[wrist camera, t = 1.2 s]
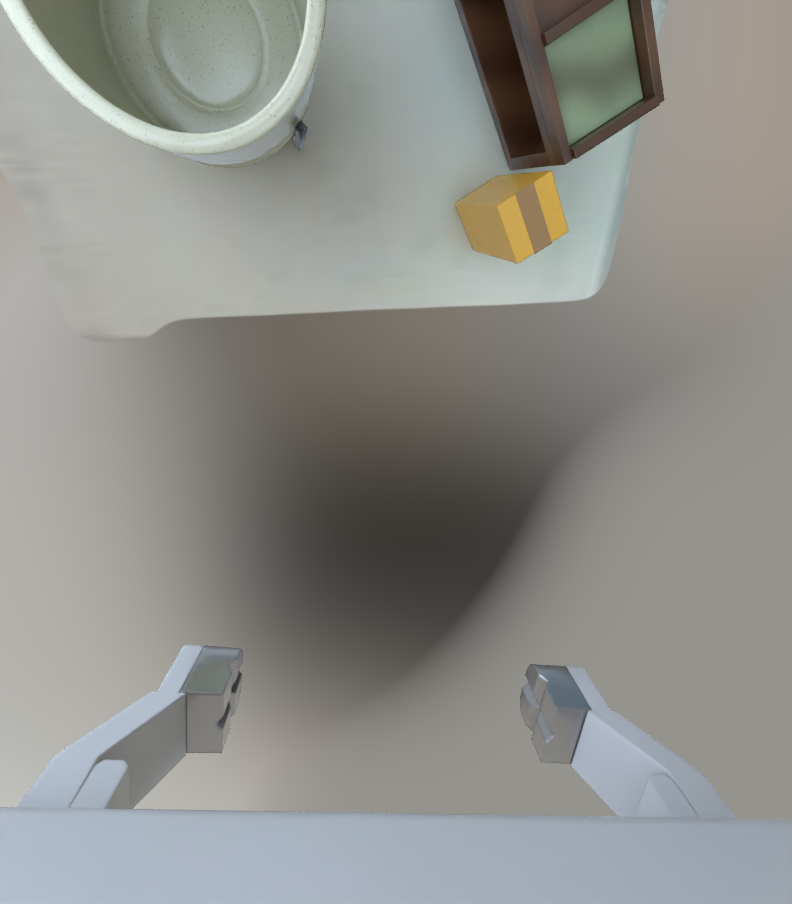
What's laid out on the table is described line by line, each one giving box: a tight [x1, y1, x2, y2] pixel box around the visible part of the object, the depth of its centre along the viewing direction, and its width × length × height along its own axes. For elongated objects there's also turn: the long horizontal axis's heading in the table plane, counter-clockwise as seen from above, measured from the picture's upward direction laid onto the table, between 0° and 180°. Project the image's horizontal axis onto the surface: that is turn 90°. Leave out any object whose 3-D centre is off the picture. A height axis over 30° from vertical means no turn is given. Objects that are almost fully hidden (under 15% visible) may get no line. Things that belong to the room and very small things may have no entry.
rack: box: [454, 0, 664, 170], centre depth 38 cm, size 17×10×12 cm, turn 29°
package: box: [455, 171, 568, 263], centre depth 45 cm, size 6×6×12 cm
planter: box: [0, 0, 327, 168], centre depth 30 cm, size 15×16×23 cm
